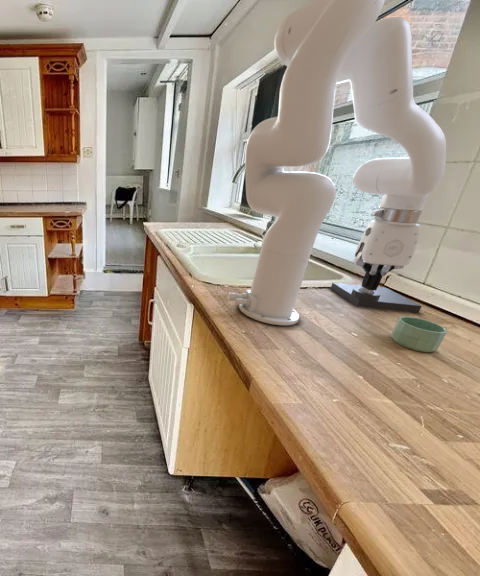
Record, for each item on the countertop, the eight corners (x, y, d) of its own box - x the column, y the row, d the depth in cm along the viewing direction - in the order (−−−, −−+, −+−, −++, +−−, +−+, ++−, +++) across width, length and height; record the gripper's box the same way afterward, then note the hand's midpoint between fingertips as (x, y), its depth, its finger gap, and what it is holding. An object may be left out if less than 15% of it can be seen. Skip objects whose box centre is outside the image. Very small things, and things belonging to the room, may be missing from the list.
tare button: (363, 295, 79) (365, 289, 78) (357, 291, 81) (359, 286, 81) (374, 296, 78) (376, 290, 78) (367, 292, 81) (370, 287, 80)
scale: (356, 306, 79) (361, 294, 77) (329, 288, 91) (333, 277, 90) (419, 313, 77) (425, 300, 75) (383, 293, 89) (387, 282, 87)
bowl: (406, 351, 59) (416, 330, 58) (382, 333, 66) (390, 314, 64) (446, 355, 58) (458, 334, 57) (418, 337, 65) (427, 318, 63)
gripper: (371, 217, 70) (344, 290, 77) (447, 221, 68) (412, 296, 75) (352, 212, 77) (329, 280, 84) (420, 216, 75) (390, 285, 82)
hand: (368, 288), depth 79 cm, fingers closed
